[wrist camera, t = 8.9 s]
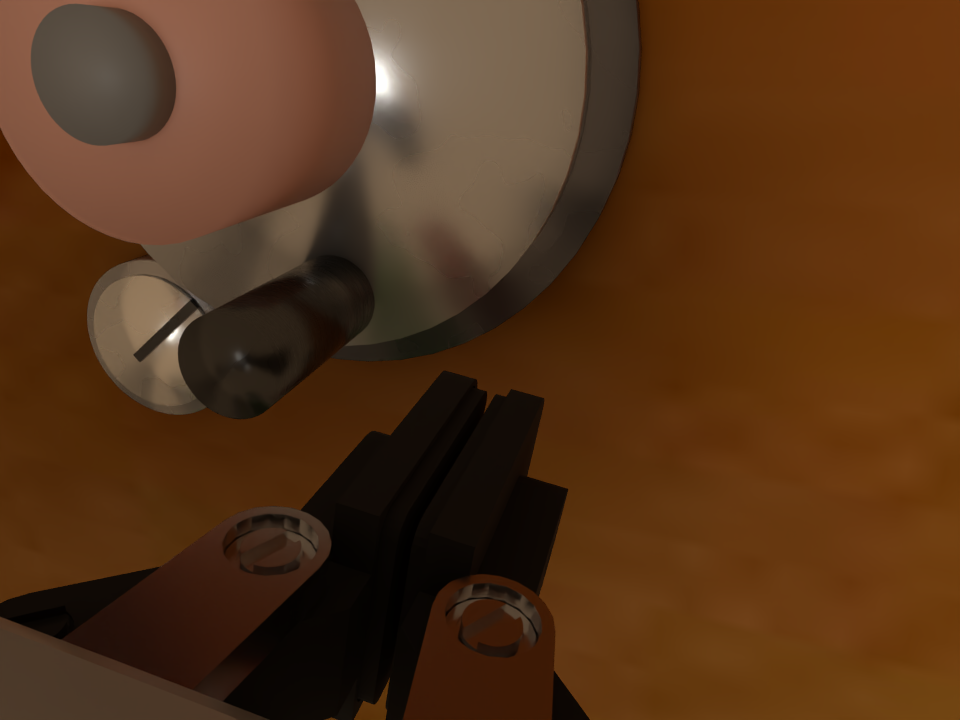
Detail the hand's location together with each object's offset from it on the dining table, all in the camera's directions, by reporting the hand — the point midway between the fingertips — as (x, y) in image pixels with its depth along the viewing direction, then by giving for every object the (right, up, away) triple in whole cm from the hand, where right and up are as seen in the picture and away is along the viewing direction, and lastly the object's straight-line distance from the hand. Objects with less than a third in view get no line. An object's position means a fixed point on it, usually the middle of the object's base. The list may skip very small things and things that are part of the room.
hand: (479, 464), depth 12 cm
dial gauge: (-10, +3, +12) cm, 15 cm away
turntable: (-4, +9, +6) cm, 11 cm away
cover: (-5, +8, +5) cm, 11 cm away
